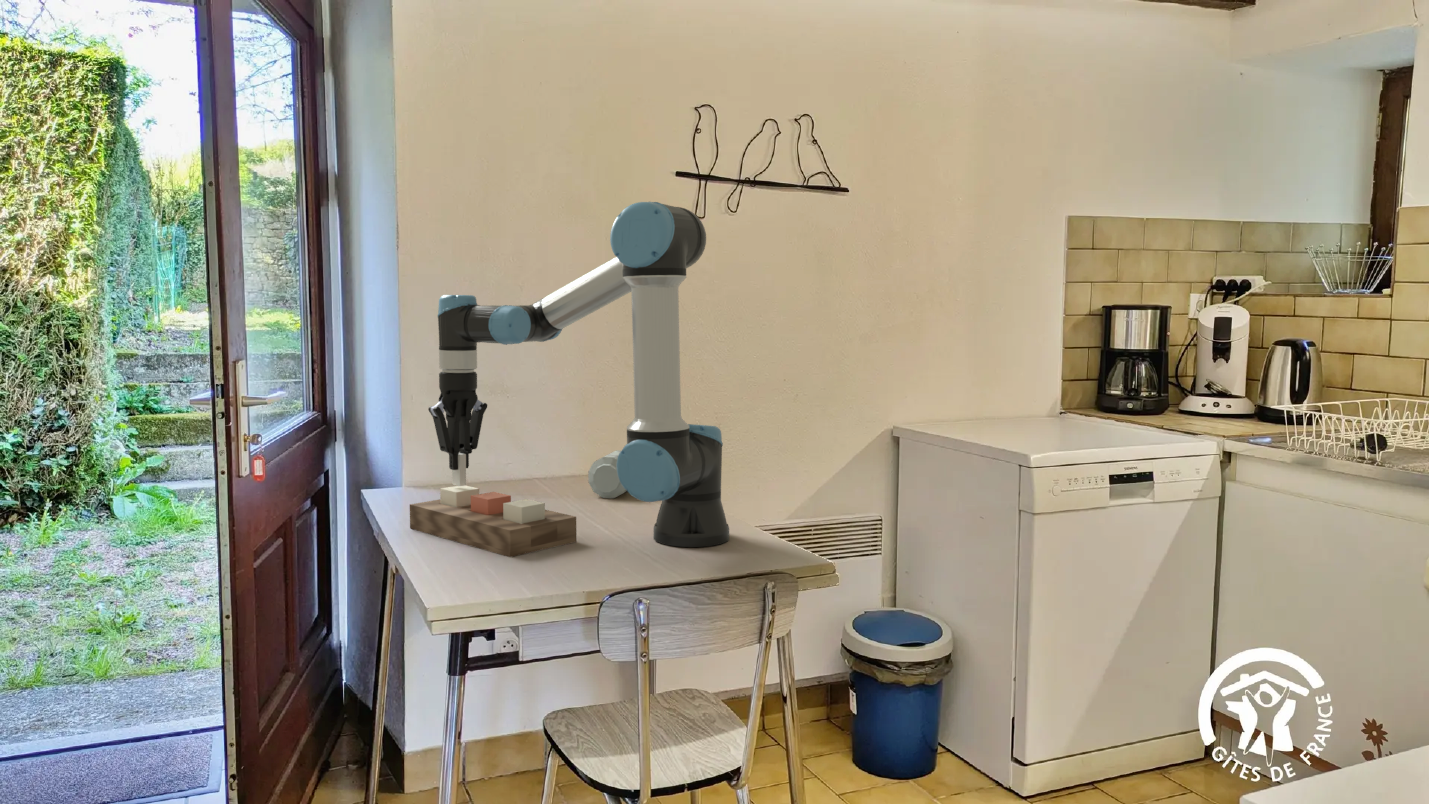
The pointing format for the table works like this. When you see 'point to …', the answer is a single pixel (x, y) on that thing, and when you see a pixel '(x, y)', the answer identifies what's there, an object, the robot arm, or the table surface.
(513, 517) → the button front
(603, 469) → the device
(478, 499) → the button middle
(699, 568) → the table surface
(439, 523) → the wooden button box
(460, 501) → the button back
